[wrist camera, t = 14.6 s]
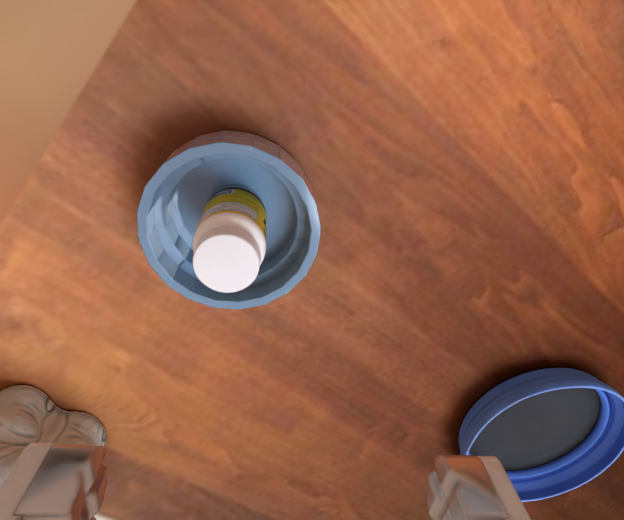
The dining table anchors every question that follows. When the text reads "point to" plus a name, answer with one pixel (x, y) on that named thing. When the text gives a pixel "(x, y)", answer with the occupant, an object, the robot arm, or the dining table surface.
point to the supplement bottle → (230, 240)
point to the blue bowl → (192, 200)
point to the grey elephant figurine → (40, 425)
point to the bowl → (547, 430)
